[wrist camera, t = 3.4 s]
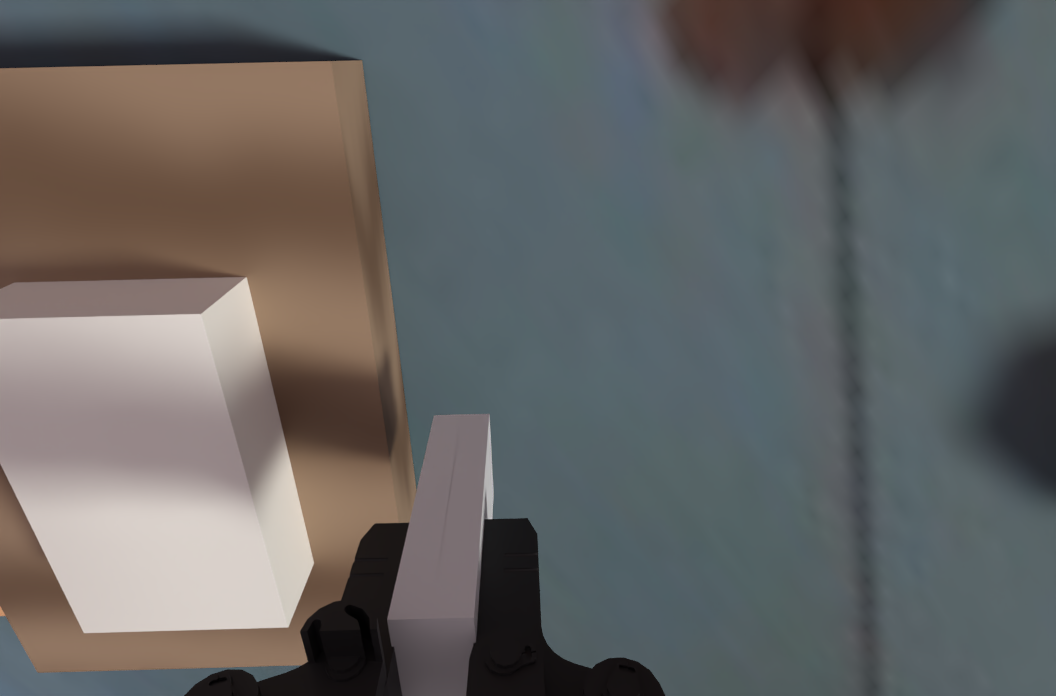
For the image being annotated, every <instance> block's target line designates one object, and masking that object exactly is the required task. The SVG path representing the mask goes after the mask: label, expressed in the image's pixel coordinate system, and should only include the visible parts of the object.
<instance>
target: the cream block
mask: <svg viewBox="0 0 1056 696" xmlns="http://www.w3.org/2000/svg"><path fill="white" fill-rule="evenodd" d="M0 464H1V466H2V468H3V470H4V472H5V474H6V476H7V478H8V481H9V483H10V485H11V487H12V489H13V491H14V493H15V495H16V497H17V499H18V501H19V503H20V505H21V507H22V509H23V511H24V513H25V515H26V517H27V519H28V521H29V523H30V525H31V527H32V529H33V531H34V533H35V535H36V537H37V539H38V541H39V543H40V545H41V547H42V549H43V551H44V553H45V555H46V557H47V560H48V562H49V564H50V566H51V568H52V570H53V572H54V574H55V576H56V578H57V580H58V582H59V584H60V586H61V588H62V590H63V592H64V594H65V596H66V598H67V600H68V602H69V604H70V606H71V608H72V610H73V612H74V614H75V616H76V618H77V620H78V622H79V624H80V626H81V628H82V630H83V632H84V633H110V632H145V631H181V630H216V629H252V628H287V627H289V624H290V622H291V619H292V617H293V614H294V612H295V610H296V607H297V605H298V602H299V600H300V597H301V595H302V592H303V590H304V587H305V585H306V582H307V580H308V577H309V575H310V572H311V570H312V567H313V565H314V561H313V557H312V552H311V548H310V544H309V540H308V535H307V531H306V527H305V523H304V518H303V514H302V510H301V506H300V501H299V497H298V493H297V489H296V484H295V480H294V476H293V472H292V468H291V463H290V459H289V455H288V451H287V446H286V442H285V438H284V434H283V429H282V425H281V421H280V417H279V412H278V408H277V404H276V400H275V395H274V391H273V387H272V383H271V378H270V374H269V370H268V366H267V361H266V357H265V353H264V349H263V344H262V340H261V336H260V332H259V327H258V323H257V319H256V315H255V310H254V306H253V302H252V298H251V293H250V289H249V285H248V281H247V277H222V278H181V279H140V280H99V281H58V282H17V283H12V284H10V285H8V286H6V287H3V288H1V289H0Z"/></svg>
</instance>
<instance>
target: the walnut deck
mask: <svg viewBox="0 0 1056 696" xmlns="http://www.w3.org/2000/svg"><path fill="white" fill-rule="evenodd" d="M222 277H247V281H248V285H249V289H250V293H251V298H252V302H253V306H254V310H255V315H256V319H257V323H258V327H259V332H260V336H261V340H262V344H263V349H264V353H265V357H266V361H267V366H268V370H269V374H270V378H271V383H272V387H273V391H274V395H275V400H276V404H277V408H278V412H279V417H280V421H281V425H282V429H283V434H284V438H285V442H286V446H287V451H288V455H289V459H290V463H291V468H292V472H293V476H294V480H295V484H296V489H297V493H298V497H299V501H300V506H301V510H302V514H303V518H304V523H305V527H306V531H307V535H308V540H309V544H310V548H311V552H312V557H313V561H314V565H313V567H312V570H311V572H310V575H309V577H308V580H307V582H306V585H305V587H304V590H303V592H302V595H301V597H300V600H299V602H298V605H297V607H296V610H295V612H294V614H293V617H292V619H291V622H290V624H289V627H287V628H252V629H216V630H181V631H145V632H110V633H84V632H83V630H82V628H81V626H80V624H79V622H78V620H77V618H76V616H75V614H74V612H73V610H72V608H71V606H70V604H69V602H68V600H67V598H66V596H65V594H64V592H63V590H62V588H61V586H60V584H59V582H58V580H57V578H56V576H55V574H54V572H53V570H52V568H51V566H50V564H49V562H48V560H47V557H46V555H45V553H44V551H43V549H42V547H41V545H40V543H39V541H38V539H37V537H36V535H35V533H34V531H33V529H32V527H31V525H30V523H29V521H28V519H27V517H26V515H25V513H24V511H23V509H22V507H21V505H20V503H19V501H18V499H17V497H16V495H15V493H14V491H13V489H12V487H11V485H10V483H9V481H8V478H7V476H6V474H5V472H4V470H3V468H2V466H1V464H0V607H1V608H2V610H3V612H4V614H5V616H6V617H7V619H8V621H9V623H10V624H11V626H12V628H13V630H14V631H15V633H16V635H17V637H18V639H19V640H20V642H21V644H22V646H23V647H24V649H25V651H26V653H27V654H28V656H29V658H30V660H31V662H32V663H33V665H34V667H35V669H36V670H37V672H38V673H44V672H79V671H114V670H149V669H184V668H219V667H254V666H289V665H303V664H305V663H306V662H308V660H307V656H306V653H305V649H304V645H303V641H302V637H301V634H300V631H301V629H302V627H303V626H304V624H305V622H306V621H307V619H308V618H309V617H310V616H311V615H313V614H314V613H315V612H316V611H317V610H318V609H320V608H322V607H324V606H326V605H328V604H330V603H332V602H335V601H341V599H342V596H343V593H344V590H345V586H346V583H347V580H348V578H349V577H350V571H351V568H352V565H353V562H354V561H355V555H356V552H357V549H358V546H359V543H360V540H361V539H362V538H363V536H364V535H365V534H366V533H367V532H368V531H369V530H370V528H371V527H372V526H373V525H374V524H375V523H409V522H410V518H411V513H412V509H413V505H414V500H415V496H416V492H417V491H416V483H415V475H414V467H413V459H412V451H411V443H410V435H409V427H408V420H407V412H406V404H405V396H404V388H403V380H402V372H401V364H400V356H399V348H398V341H397V333H396V325H395V317H394V309H393V301H392V293H391V285H390V277H389V269H388V262H387V254H386V246H385V238H384V230H383V222H382V214H381V206H380V198H379V190H378V183H377V175H376V167H375V159H374V151H373V143H372V135H371V127H370V119H369V111H368V104H367V96H366V88H365V80H364V72H363V64H362V60H355V61H310V62H265V63H219V64H174V65H129V66H84V67H39V68H0V289H1V288H3V287H6V286H8V285H10V284H12V283H17V282H58V281H99V280H140V279H181V278H222Z"/></svg>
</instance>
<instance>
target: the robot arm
mask: <svg viewBox="0 0 1056 696" xmlns="http://www.w3.org/2000/svg"><path fill="white" fill-rule="evenodd" d="M493 495H494V493H493V474H492V454H491V435H490V416H489V414H466V415H434V418H433V422H432V426H431V431H430V435H429V440H428V444H427V448H426V453H425V457H424V461H423V466H422V470H421V474H420V479H419V483H418V487H417V492H416V496H415V500H414V505H413V509H412V513H411V518H410V522H409V523H375V524H374V525H373V526H372V527H371V528H370V530H369V531H368V532H367V533H366V534H365V535H364V536H363V538H362V539H361V540H360V543H359V546H358V549H357V552H356V555H355V561H354V562H353V565H352V568H351V571H350V577H349V578H348V580H347V583H346V586H345V590H344V593H343V596H342V599H341V601H335V602H332V603H330V604H328V605H326V606H324V607H322V608H320V609H318V610H317V611H316V612H315V613H314V614H313V615H311V616H310V617H309V618H308V619H307V621H306V622H305V624H304V626H303V627H302V629H301V631H300V634H301V637H302V641H303V645H304V649H305V653H306V656H307V660H308V662H306V663H305V664H303V665H302V666H300V667H299V668H296V669H294V670H291V671H289V672H287V673H284V674H281V675H277V676H274V677H271V678H268V679H265V680H262V681H259V682H256V680H255V678H254V677H253V675H251V674H249V673H247V672H245V671H243V670H224V671H221V672H218V673H215V674H212V675H210V676H208V677H207V678H205V679H203V680H202V681H200V682H199V683H197V684H195V685H194V686H193V687H192V688H191V689H190V690H189V691H188V693H187V694H186V695H185V696H665V694H664V692H663V690H662V688H661V686H660V684H659V682H658V681H657V679H656V678H655V677H654V675H653V674H652V672H651V671H650V670H649V669H647V668H646V667H644V666H643V665H641V664H640V663H638V662H637V661H633V660H630V659H626V658H608V659H606V660H604V661H602V662H600V663H598V664H596V665H595V666H594V667H593V668H592V669H591V668H588V667H584V666H581V665H578V664H574V663H572V662H569V661H567V660H565V659H563V658H561V657H560V656H558V655H557V654H556V653H554V652H553V650H552V649H551V648H550V647H549V646H548V645H547V643H546V641H545V639H544V637H543V633H542V628H541V611H540V587H539V564H538V541H537V533H536V531H535V530H534V528H533V526H532V525H531V523H530V522H529V520H528V518H521V519H492V514H493Z"/></svg>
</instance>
